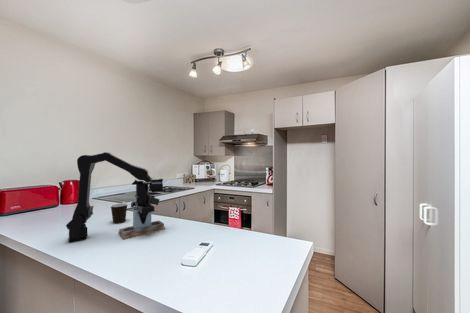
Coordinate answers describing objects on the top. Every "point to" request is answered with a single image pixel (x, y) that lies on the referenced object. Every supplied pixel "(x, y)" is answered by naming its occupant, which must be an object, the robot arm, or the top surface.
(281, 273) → the top surface
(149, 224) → the grey flat block
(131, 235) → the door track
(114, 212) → the coffee mug
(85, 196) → the robot arm
